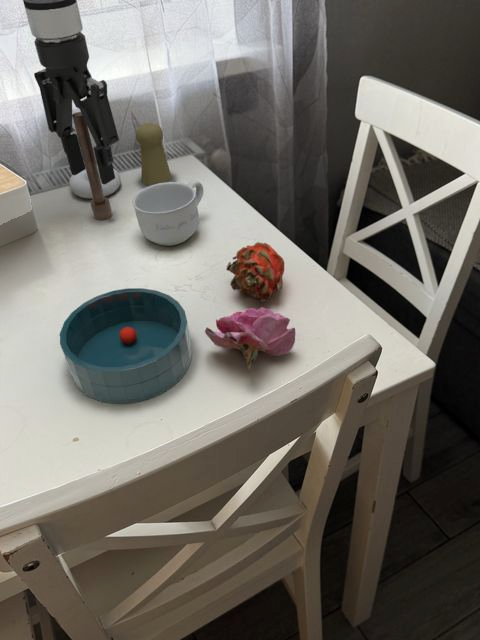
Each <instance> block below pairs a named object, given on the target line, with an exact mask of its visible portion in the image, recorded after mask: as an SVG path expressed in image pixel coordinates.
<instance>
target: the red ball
mask: <svg viewBox="0 0 480 640" xmlns="http://www.w3.org/2000/svg"><path fill="white" fill-rule="evenodd" d="M119 337H120V340H121V341H122V342H123V343H125V344H131V343H133V342H134V341H135V340H136V338H137V334H136V331H135V330H134V329H133V328H131V327H125V328H123V329H122V330H121V331H120V334H119Z"/></svg>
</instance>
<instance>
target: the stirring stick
mask: <svg viewBox="0 0 480 640" xmlns="http://www.w3.org/2000/svg"><path fill="white" fill-rule="evenodd" d="M72 122H73V124H74V129H75V131H76V134H77V137H78V141H79V145H80V149H81V153H82V157H83V161H84V165H85V168H86V172H87V176H88V180H89V184H90V188H91V192H92V196H93V199H90V207H91V212H92V215H93V218H94V219H95V220H97V221H106V220H109V219H110V218H111V217H113V210H112V206H111V203H110V199H109V198H108V197H107V196H105V197H104V193H103V189H102V185H101V181H100V177H99V172H98V168H97V161H96V157H95V153H94V149H93V148H94V146H93V143H92V139H91V134H90V130H89V128H88V126H87V124H86V122H85V120H84V118H83V115H82V113H81V111H77V112H74V113H72Z"/></svg>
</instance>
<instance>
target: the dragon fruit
mask: <svg viewBox="0 0 480 640" xmlns="http://www.w3.org/2000/svg"><path fill="white" fill-rule="evenodd" d="M232 260H234V261H233V262H230V261H229V262H228V263H227V265H226V271H229V272H230V273H231V274H234V276H233V277H232V280H231V281H230V284H229V285H230V287H231V289H232V290H233V291H235V290H238V291H240V292H241V295H242V296H243V297H244V299H251V298H253V299H258V300H259V301H260V302H266V301H268V300H269V299H270V298H271V296H272V294H273V292H275V291H276V292H277V291H280V290H282V289H283V284H284V282H283V281H284V280H283V276H284V273H285V260H284V258H283V257H282V256H281V255H280V254H279V253H278V252H277V251H276V250H275V249H274V248H273V247H272V245H270V244H268V243H266V242H260V241H257V242H255V243H254V245H246V247H245V246H243V247H241V248H240V249H239V250H238V251H236V255H235V256H233V257H232Z"/></svg>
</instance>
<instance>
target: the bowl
mask: <svg viewBox="0 0 480 640" xmlns="http://www.w3.org/2000/svg"><path fill="white" fill-rule="evenodd" d="M188 323H189V322H188V319H187V315H186V310H185V309H184V308H183V306H182V305H181V304H180V302H179V301H178V300H176V299H175V298H173V297H172V296H171V295H169V294H167V293H164V292H161V291H159V290H156V289H149V288H143V287H142V288H141V287H138V288H136V287H135V288H129V287H128V288H122V289H121V288H120V289H116V290H110V291H108V292H105V293H101V294H99V295H96V296H93V297H92V298H90V299H89V300H87V301H85V302H83V303H82V304H80V305H79V306H78V307H77V308H76V309H74V310H73V311H72V312H71V313H70V314H69V315H68V317H67V318H66V319H65V320H64V321H63V324H62V327H61V329H60V332H59V345H60V348H61V350H62V351H61V352H62V353H63V357H64V359H65V362H66V365H67V367H68V370H69V372H70V375H71V378H72V380H73V382H74V384H75V385H76V387H77V389H79V390H80V391H81V392H82V393H83V394H84V395H86V396H87V397H89V398H92V399H94V400H96V401H100V402H103V403H108V404H120V405H121V404H132V403H133V404H134V403H138V402H142V401H146V400H149V399H152V398H155V397H157V396H159V395H161V394H163V393H165V392H167V391H169V390H170V389H171V388H172V387H173V386H175V385H176V384H177V383H178V382H179V381H180V380H181V379H182V378H183V377H184V376H185V374H186V372H187V371H188V369H189V367H190V365H191V362H192V354H193V353H192V343H191V338H190V331H189V330H190V329H189V324H188ZM125 327H131V328H133V329H134V330H135V331H136V334H137V338H136V340H135V341H134V342H133V343H131V344H125V343H123V342H122V341H121V340H120V337H119V334H120V331H121V330H122V329H123V328H125Z"/></svg>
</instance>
